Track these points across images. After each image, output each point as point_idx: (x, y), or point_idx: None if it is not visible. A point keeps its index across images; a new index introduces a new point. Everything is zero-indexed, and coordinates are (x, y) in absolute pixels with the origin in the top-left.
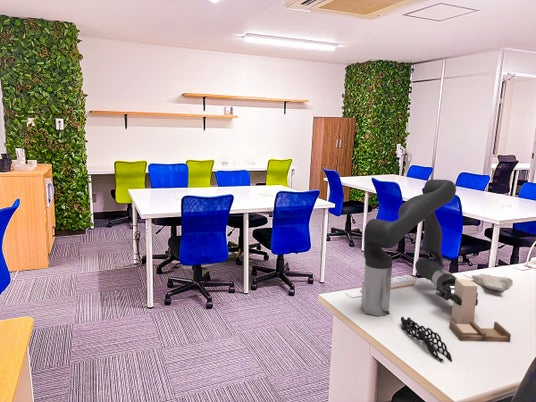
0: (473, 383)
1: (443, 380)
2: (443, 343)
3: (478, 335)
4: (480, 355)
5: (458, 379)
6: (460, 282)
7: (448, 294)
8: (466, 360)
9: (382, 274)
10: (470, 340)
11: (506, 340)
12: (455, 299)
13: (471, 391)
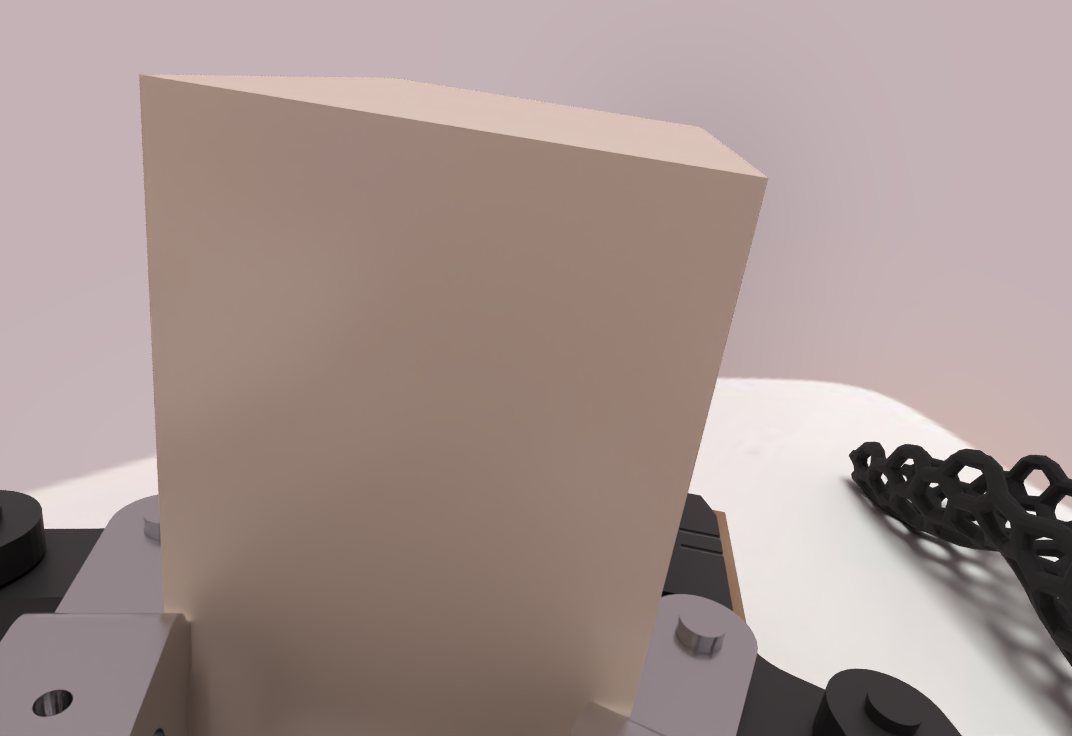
0: (766, 403)
1: (905, 435)
2: (922, 449)
3: None
4: None
5: (830, 425)
6: (700, 138)
7: (856, 690)
8: (732, 486)
9: None
10: None
11: None
12: (716, 546)
13: (793, 387)
